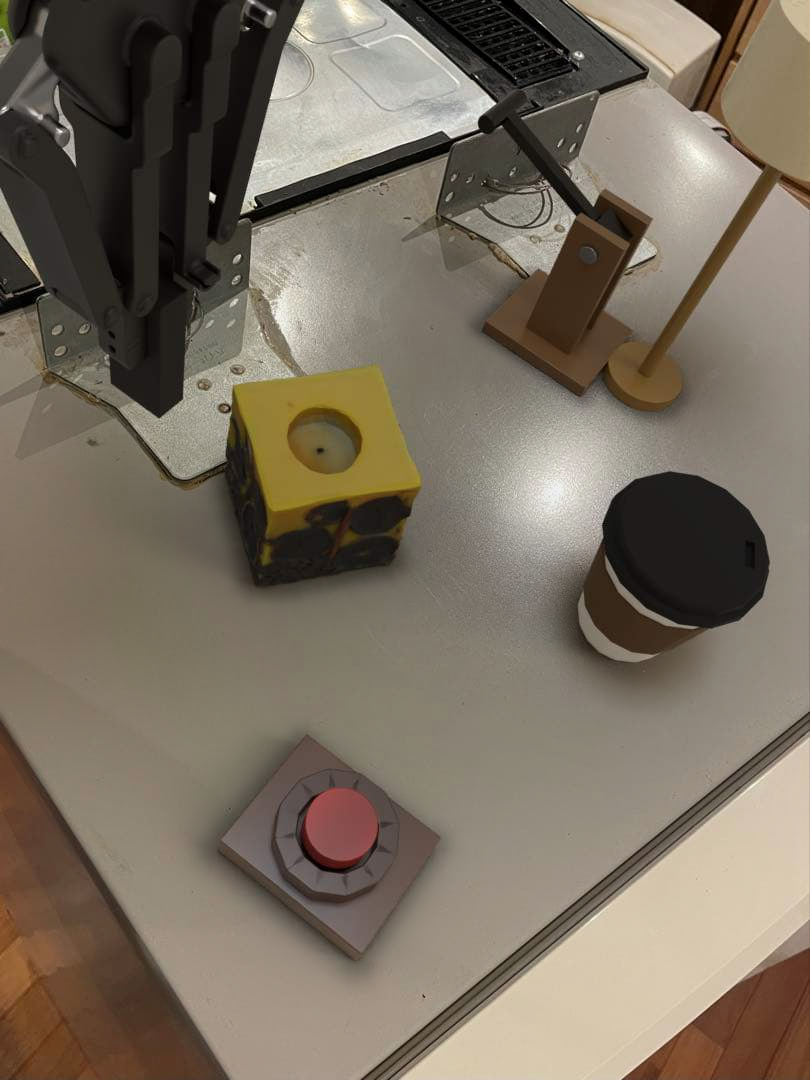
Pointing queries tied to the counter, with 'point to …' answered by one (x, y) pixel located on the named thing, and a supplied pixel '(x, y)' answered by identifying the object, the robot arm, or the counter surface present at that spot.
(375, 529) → the candle
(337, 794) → the button
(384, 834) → the switch block
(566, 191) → the black t-shaped bar
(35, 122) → the robot arm
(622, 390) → the lamp
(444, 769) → the counter surface
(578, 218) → the lever bracket
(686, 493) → the coffee cup
